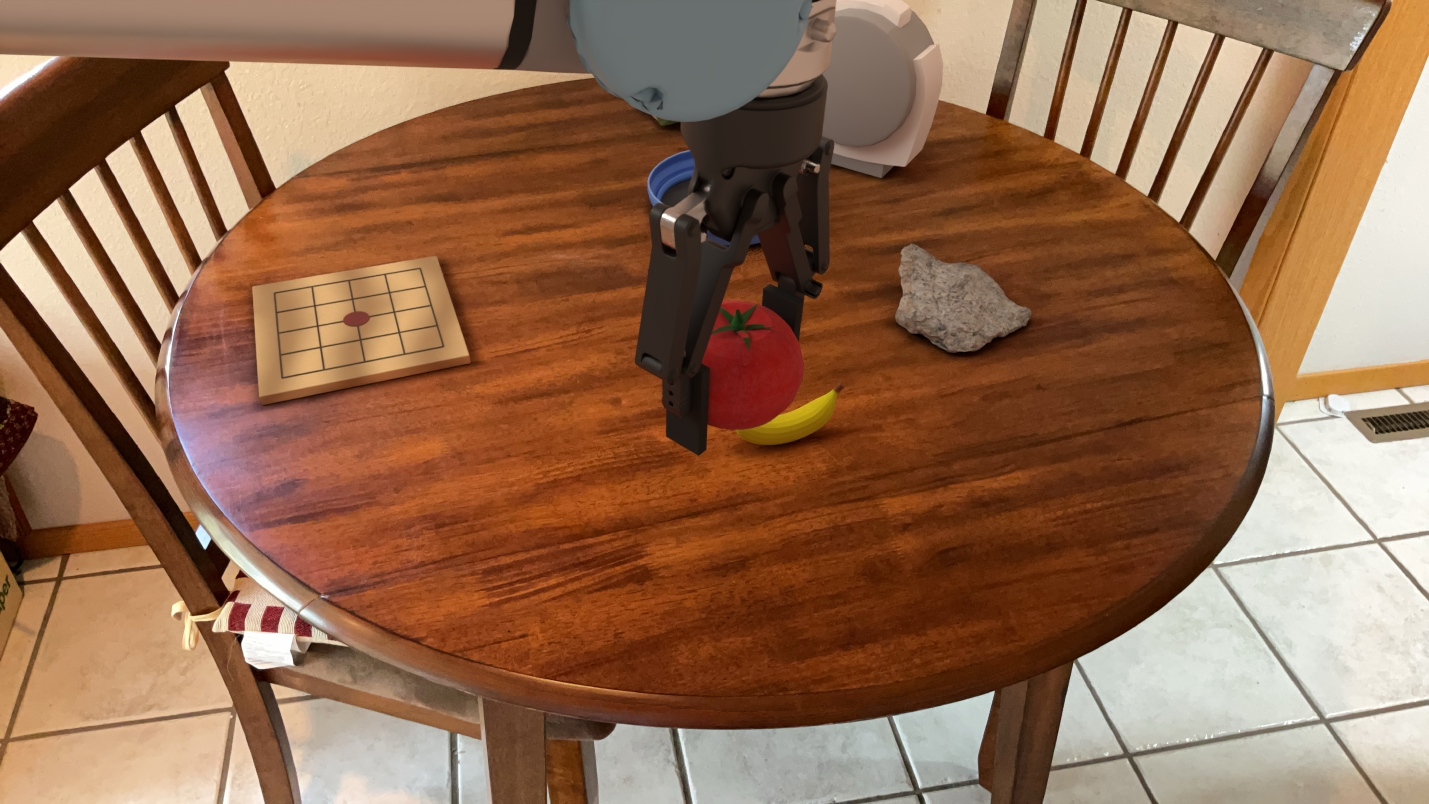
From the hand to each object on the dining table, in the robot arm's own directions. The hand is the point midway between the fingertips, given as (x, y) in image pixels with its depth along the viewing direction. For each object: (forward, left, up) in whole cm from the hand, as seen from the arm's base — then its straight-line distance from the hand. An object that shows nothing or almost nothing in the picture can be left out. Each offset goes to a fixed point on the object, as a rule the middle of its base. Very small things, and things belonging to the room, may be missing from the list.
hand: (732, 406), depth 64 cm
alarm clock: (+39, +55, -15) cm, 69 cm away
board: (-23, +38, -14) cm, 46 cm away
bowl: (+19, +48, -15) cm, 54 cm away
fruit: (+9, +10, -15) cm, 20 cm away
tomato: (0, 0, 0) cm, 0 cm away
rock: (+33, +22, -15) cm, 43 cm away
